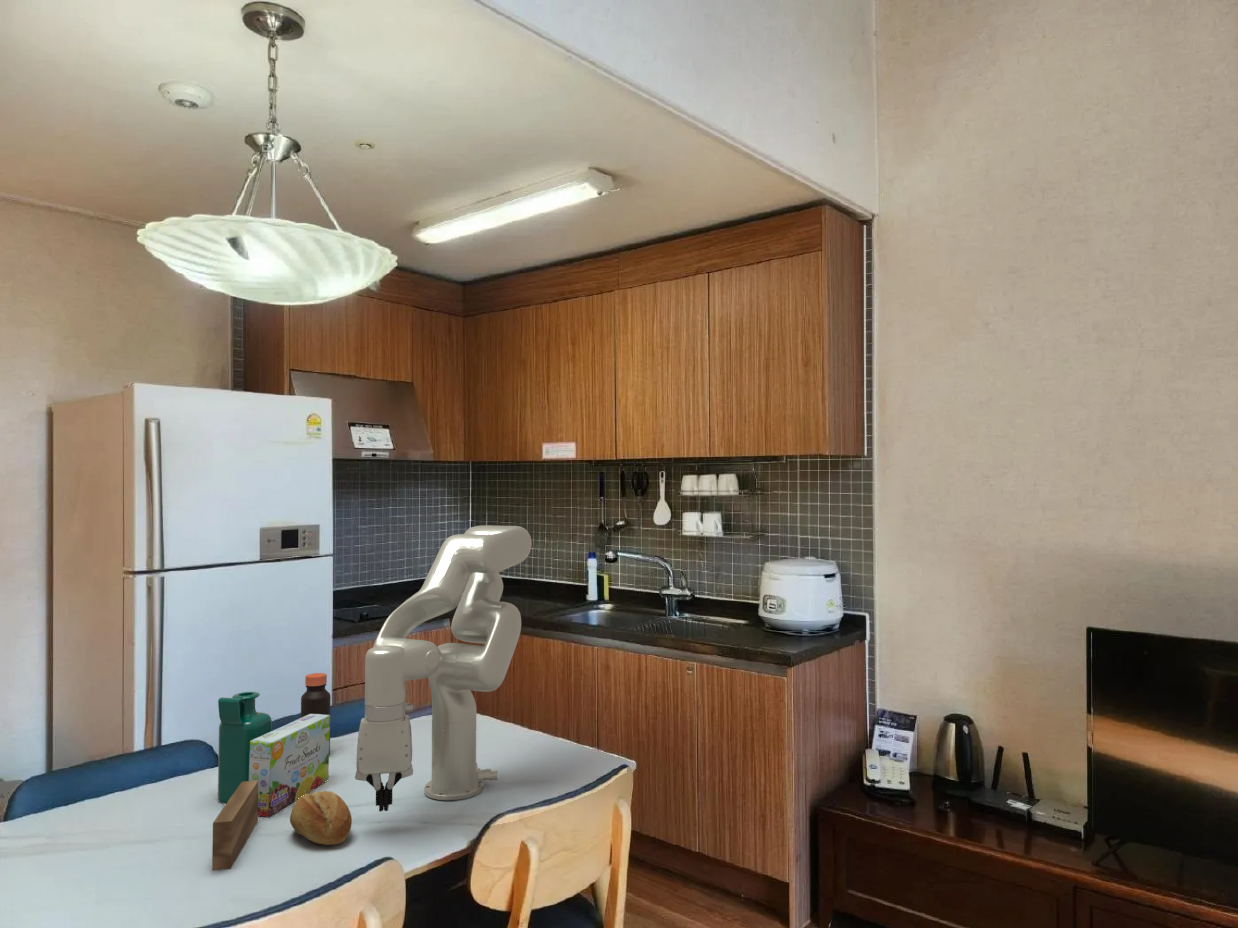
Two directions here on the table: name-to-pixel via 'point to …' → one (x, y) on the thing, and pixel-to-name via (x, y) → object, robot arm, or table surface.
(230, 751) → the pitcher
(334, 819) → the bread roll
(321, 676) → the bottle
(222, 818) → the walnut board
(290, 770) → the snack box
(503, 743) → the table surface
